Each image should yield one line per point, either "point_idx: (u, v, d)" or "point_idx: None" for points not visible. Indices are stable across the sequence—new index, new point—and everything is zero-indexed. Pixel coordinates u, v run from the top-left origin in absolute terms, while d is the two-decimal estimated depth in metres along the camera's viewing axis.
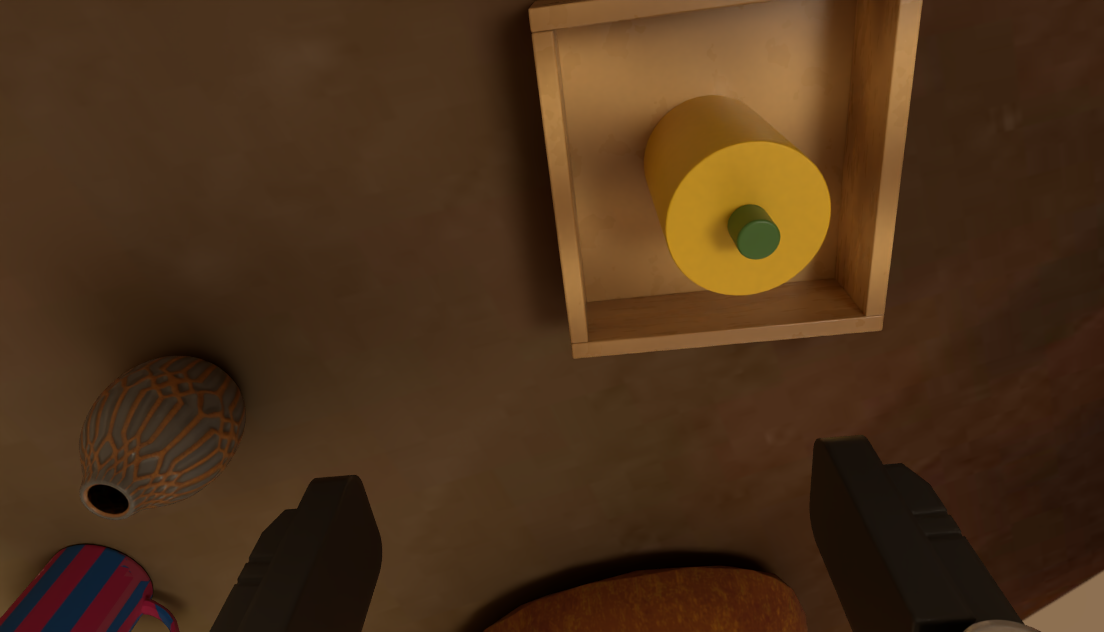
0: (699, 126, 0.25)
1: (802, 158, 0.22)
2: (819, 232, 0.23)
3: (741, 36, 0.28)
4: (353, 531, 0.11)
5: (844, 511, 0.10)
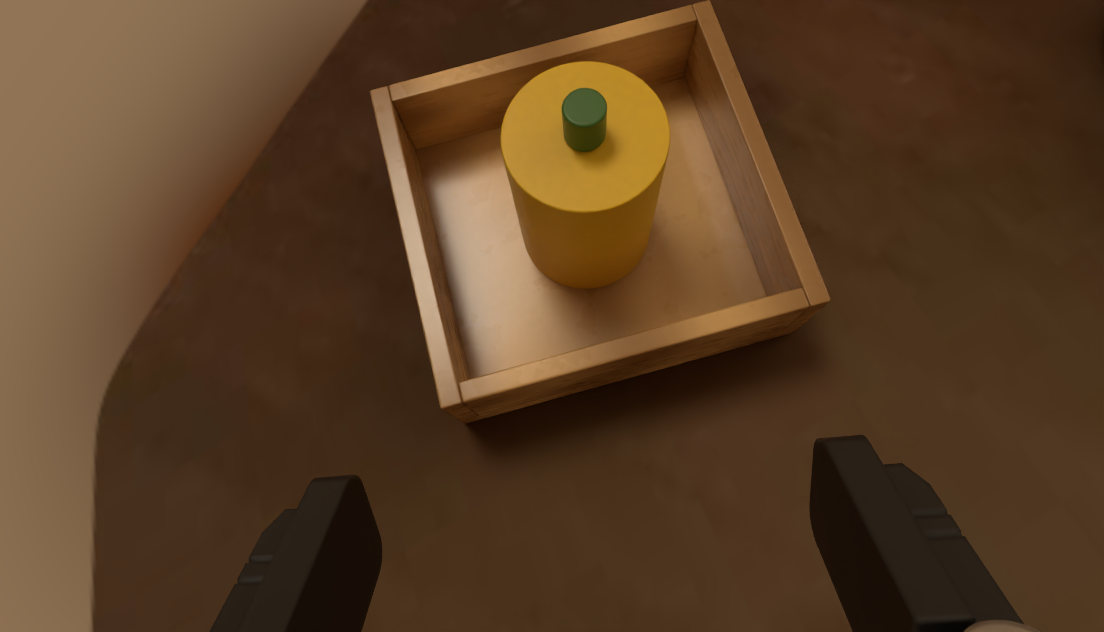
0: (525, 224, 0.25)
1: (511, 105, 0.23)
2: (582, 67, 0.23)
3: (469, 228, 0.30)
4: (352, 531, 0.11)
5: (844, 511, 0.10)
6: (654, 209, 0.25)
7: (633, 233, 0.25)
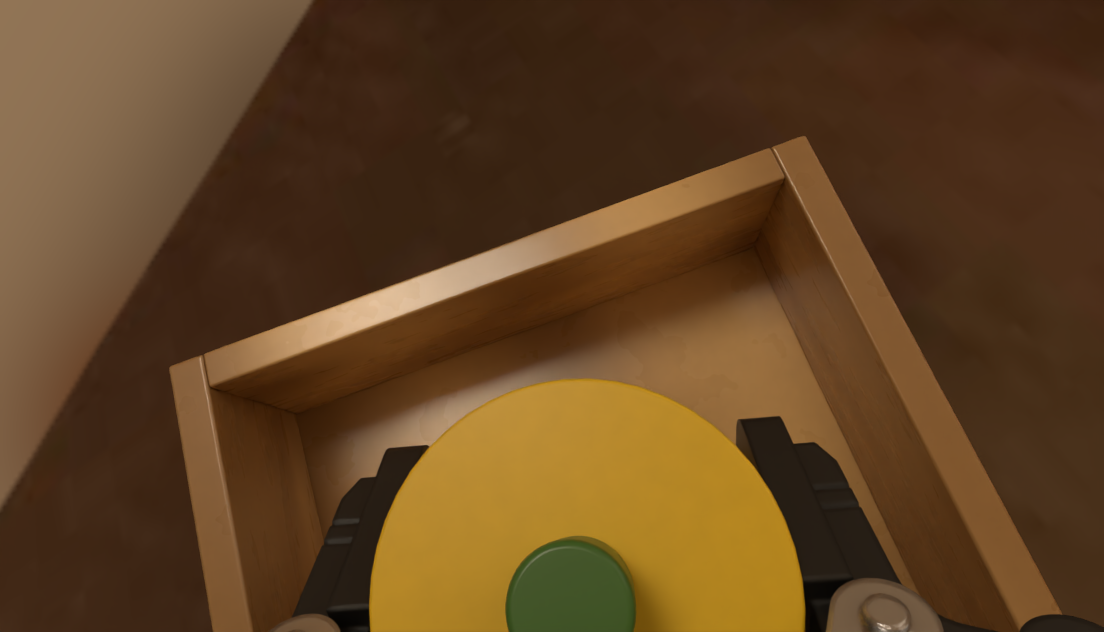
0: None
1: (395, 512, 0.09)
2: (563, 397, 0.09)
3: None
4: None
5: None
6: None
7: None
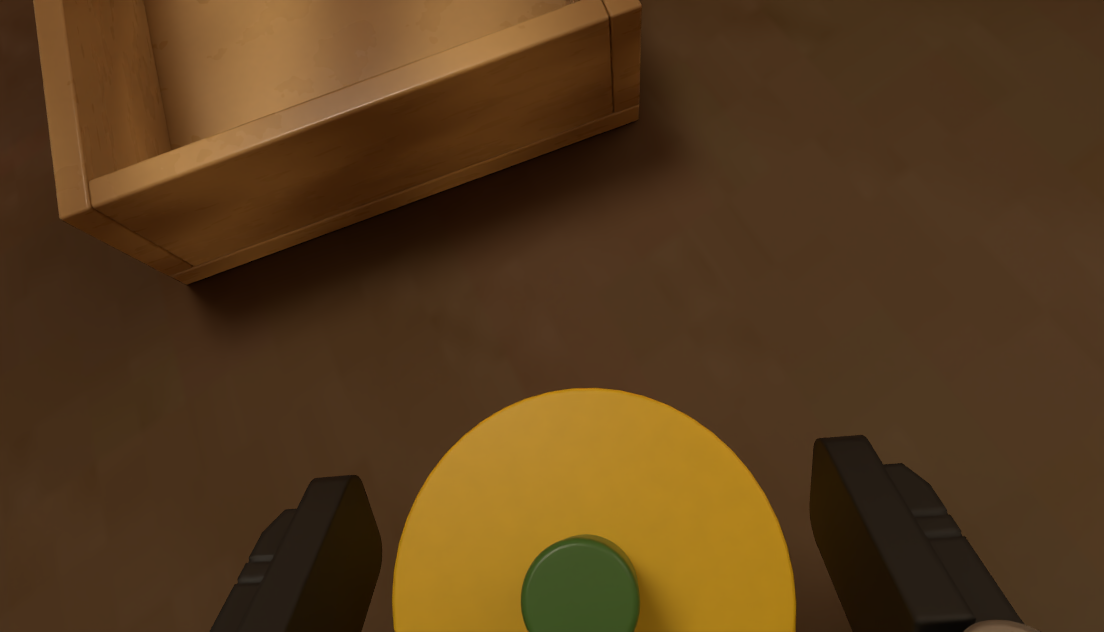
0: None
1: (416, 512, 0.10)
2: (571, 405, 0.10)
3: (197, 31, 0.22)
4: (352, 531, 0.11)
5: (844, 511, 0.10)
6: None
7: None
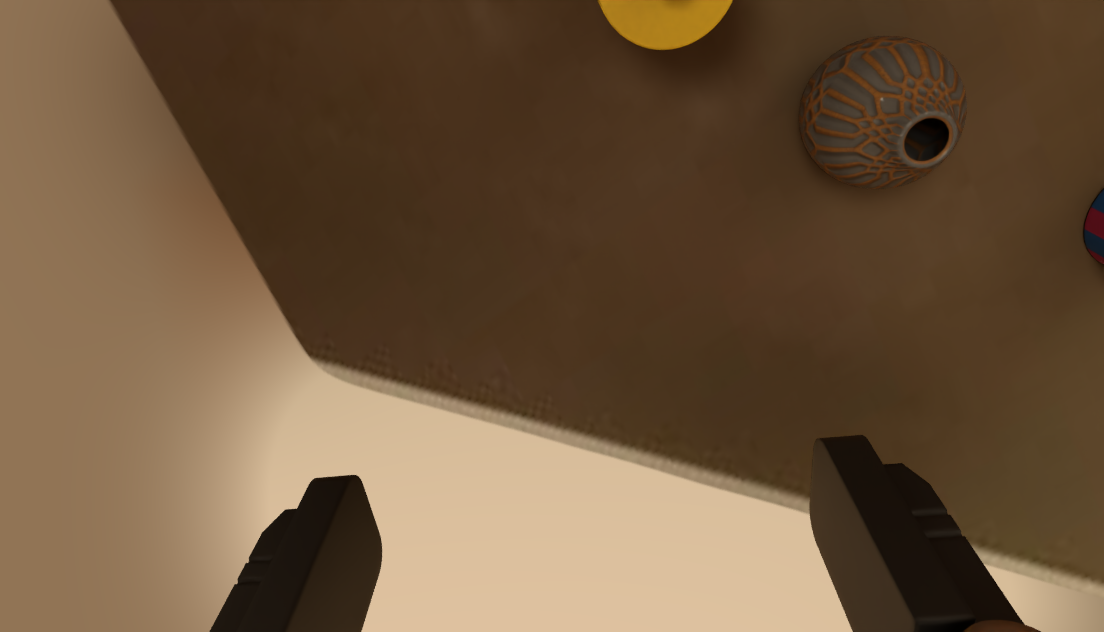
0: None
1: None
2: None
3: None
4: (352, 531, 0.11)
5: (844, 511, 0.10)
6: None
7: None
